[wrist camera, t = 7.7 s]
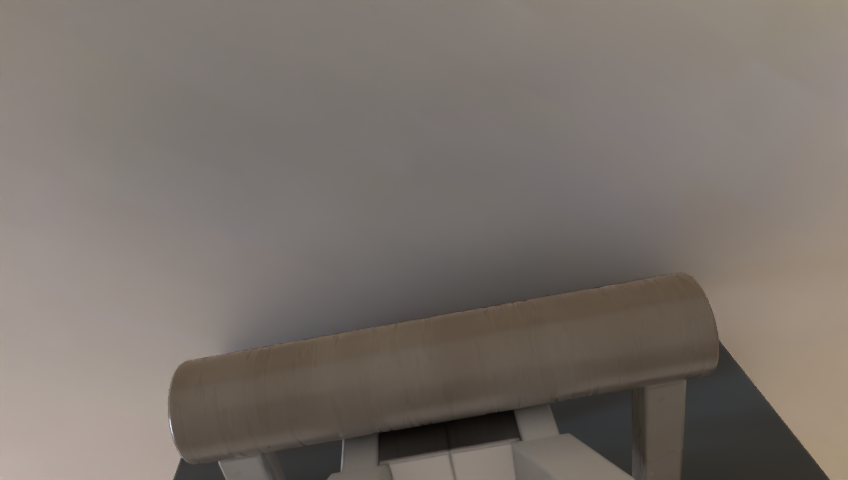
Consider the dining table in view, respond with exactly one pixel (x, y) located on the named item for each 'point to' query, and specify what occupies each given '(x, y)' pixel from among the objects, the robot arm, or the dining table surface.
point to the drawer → (496, 389)
